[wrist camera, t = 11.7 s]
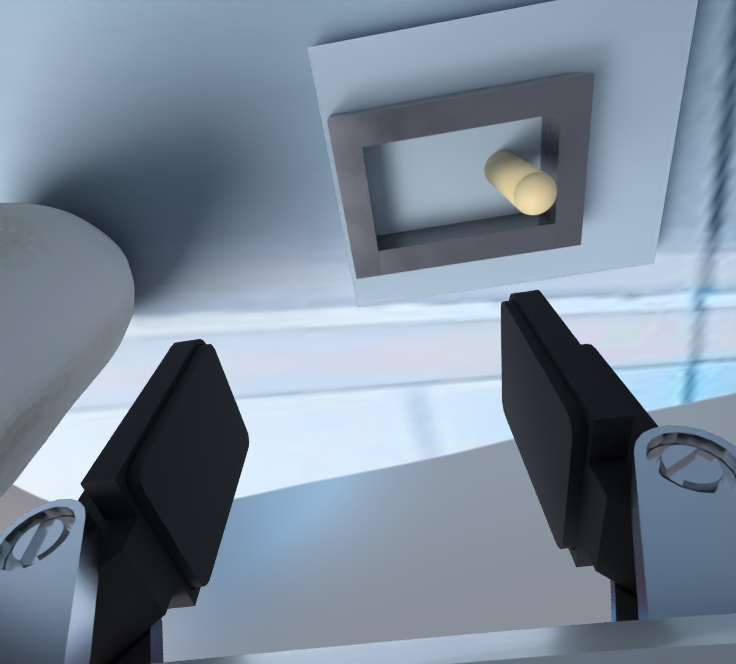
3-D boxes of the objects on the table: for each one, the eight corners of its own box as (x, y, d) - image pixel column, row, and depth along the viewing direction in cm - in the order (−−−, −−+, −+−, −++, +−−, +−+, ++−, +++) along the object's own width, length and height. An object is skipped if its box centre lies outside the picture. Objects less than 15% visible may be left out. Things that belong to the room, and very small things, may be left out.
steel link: (572, 71, 22) (594, 72, 20) (563, 229, 26) (580, 244, 24) (330, 115, 23) (326, 120, 21) (356, 261, 27) (356, 279, 25)
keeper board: (676, -21, 22) (828, -61, 15) (637, 251, 29) (727, 314, 22) (311, 48, 23) (288, 42, 16) (357, 293, 30) (356, 365, 23)
